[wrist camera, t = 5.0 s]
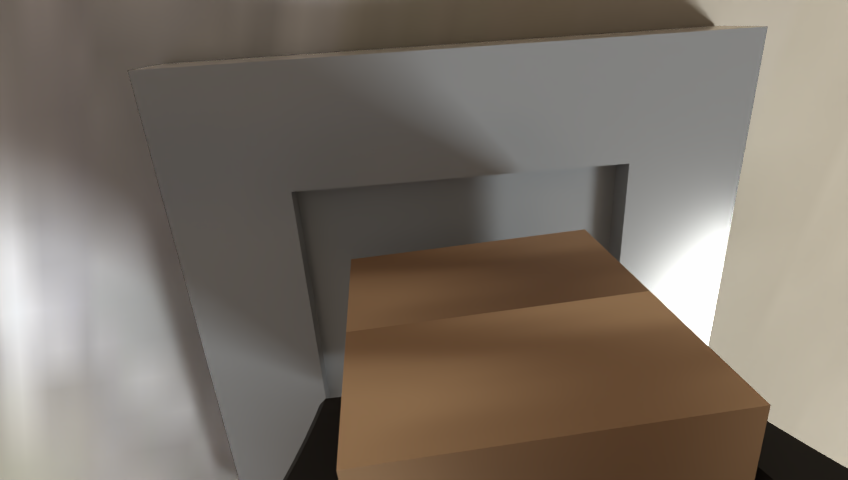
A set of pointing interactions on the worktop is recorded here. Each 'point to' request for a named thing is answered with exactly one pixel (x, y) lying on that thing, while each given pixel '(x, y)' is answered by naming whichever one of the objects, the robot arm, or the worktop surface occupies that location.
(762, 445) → the robot arm
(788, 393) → the worktop surface
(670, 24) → the worktop surface
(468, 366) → the brown block
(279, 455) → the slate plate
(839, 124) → the worktop surface
